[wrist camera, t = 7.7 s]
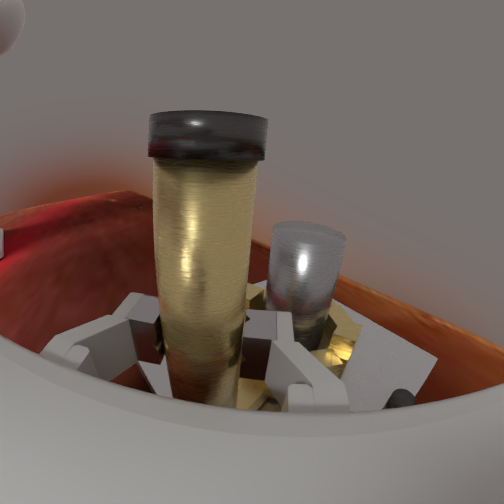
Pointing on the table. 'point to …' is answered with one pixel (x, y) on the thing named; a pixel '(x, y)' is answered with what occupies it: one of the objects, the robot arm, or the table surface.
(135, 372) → the table surface
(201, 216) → the brass metal fixture
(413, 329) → the table surface
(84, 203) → the table surface
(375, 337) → the spigot base
